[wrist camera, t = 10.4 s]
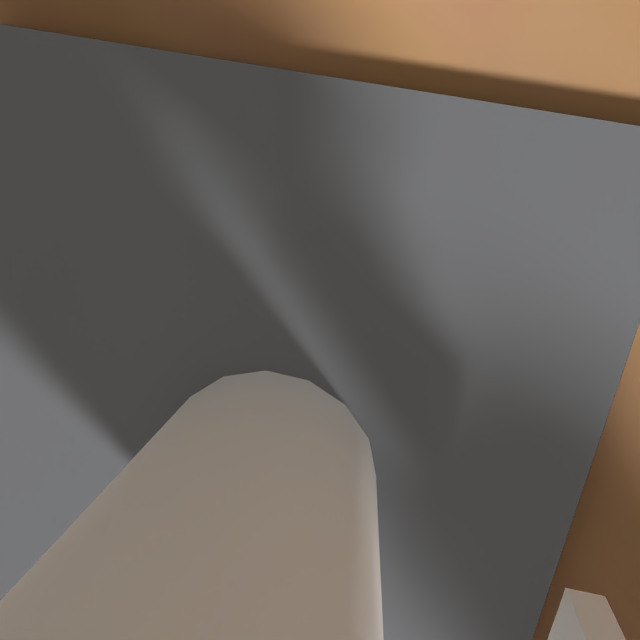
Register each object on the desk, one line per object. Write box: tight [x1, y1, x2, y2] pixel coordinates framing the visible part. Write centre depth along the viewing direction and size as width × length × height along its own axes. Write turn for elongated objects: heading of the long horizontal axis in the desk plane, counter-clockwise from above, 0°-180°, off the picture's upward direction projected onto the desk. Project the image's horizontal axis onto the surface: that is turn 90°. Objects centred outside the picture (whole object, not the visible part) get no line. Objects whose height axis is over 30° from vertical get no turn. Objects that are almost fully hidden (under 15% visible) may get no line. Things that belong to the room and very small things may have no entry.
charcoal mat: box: [0, 24, 640, 640], centre depth 16 cm, size 20×16×1 cm
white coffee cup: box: [0, 370, 384, 640], centre depth 11 cm, size 7×7×10 cm
